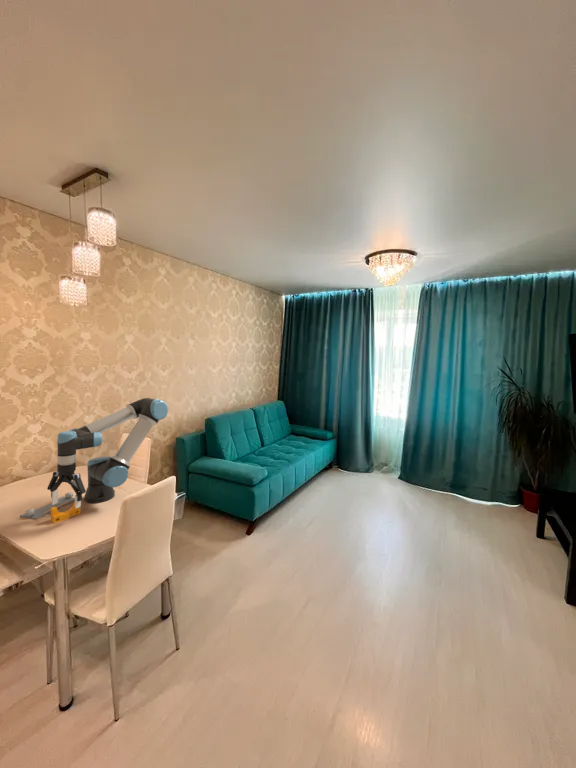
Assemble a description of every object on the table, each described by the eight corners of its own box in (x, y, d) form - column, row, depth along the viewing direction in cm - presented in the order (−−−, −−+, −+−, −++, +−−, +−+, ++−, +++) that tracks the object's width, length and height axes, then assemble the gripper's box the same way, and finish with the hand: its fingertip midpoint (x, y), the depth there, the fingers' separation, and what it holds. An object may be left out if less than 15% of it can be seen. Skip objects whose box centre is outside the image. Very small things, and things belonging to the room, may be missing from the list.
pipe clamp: (54, 523, 154) (53, 510, 154) (50, 520, 157) (50, 508, 156) (81, 514, 164) (81, 502, 164) (78, 512, 166) (78, 500, 166)
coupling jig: (77, 499, 181) (77, 492, 181) (36, 519, 158) (36, 511, 157) (63, 497, 183) (63, 490, 183) (20, 516, 160) (20, 509, 159)
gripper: (94, 463, 159) (93, 505, 160) (52, 458, 164) (52, 499, 165) (81, 467, 151) (81, 512, 152) (38, 462, 156) (38, 505, 157)
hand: (66, 505), depth 158 cm, fingers open, 13 cm apart
